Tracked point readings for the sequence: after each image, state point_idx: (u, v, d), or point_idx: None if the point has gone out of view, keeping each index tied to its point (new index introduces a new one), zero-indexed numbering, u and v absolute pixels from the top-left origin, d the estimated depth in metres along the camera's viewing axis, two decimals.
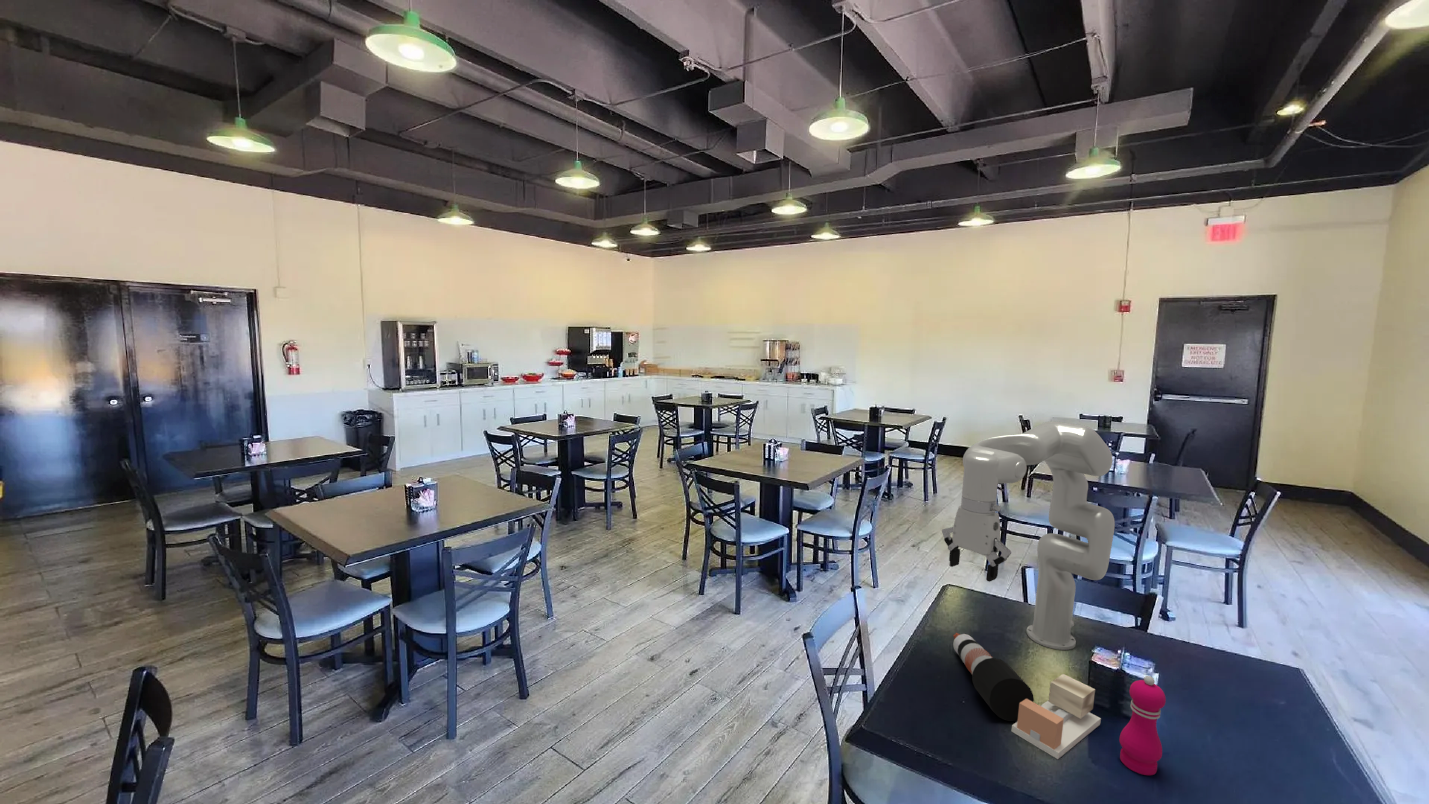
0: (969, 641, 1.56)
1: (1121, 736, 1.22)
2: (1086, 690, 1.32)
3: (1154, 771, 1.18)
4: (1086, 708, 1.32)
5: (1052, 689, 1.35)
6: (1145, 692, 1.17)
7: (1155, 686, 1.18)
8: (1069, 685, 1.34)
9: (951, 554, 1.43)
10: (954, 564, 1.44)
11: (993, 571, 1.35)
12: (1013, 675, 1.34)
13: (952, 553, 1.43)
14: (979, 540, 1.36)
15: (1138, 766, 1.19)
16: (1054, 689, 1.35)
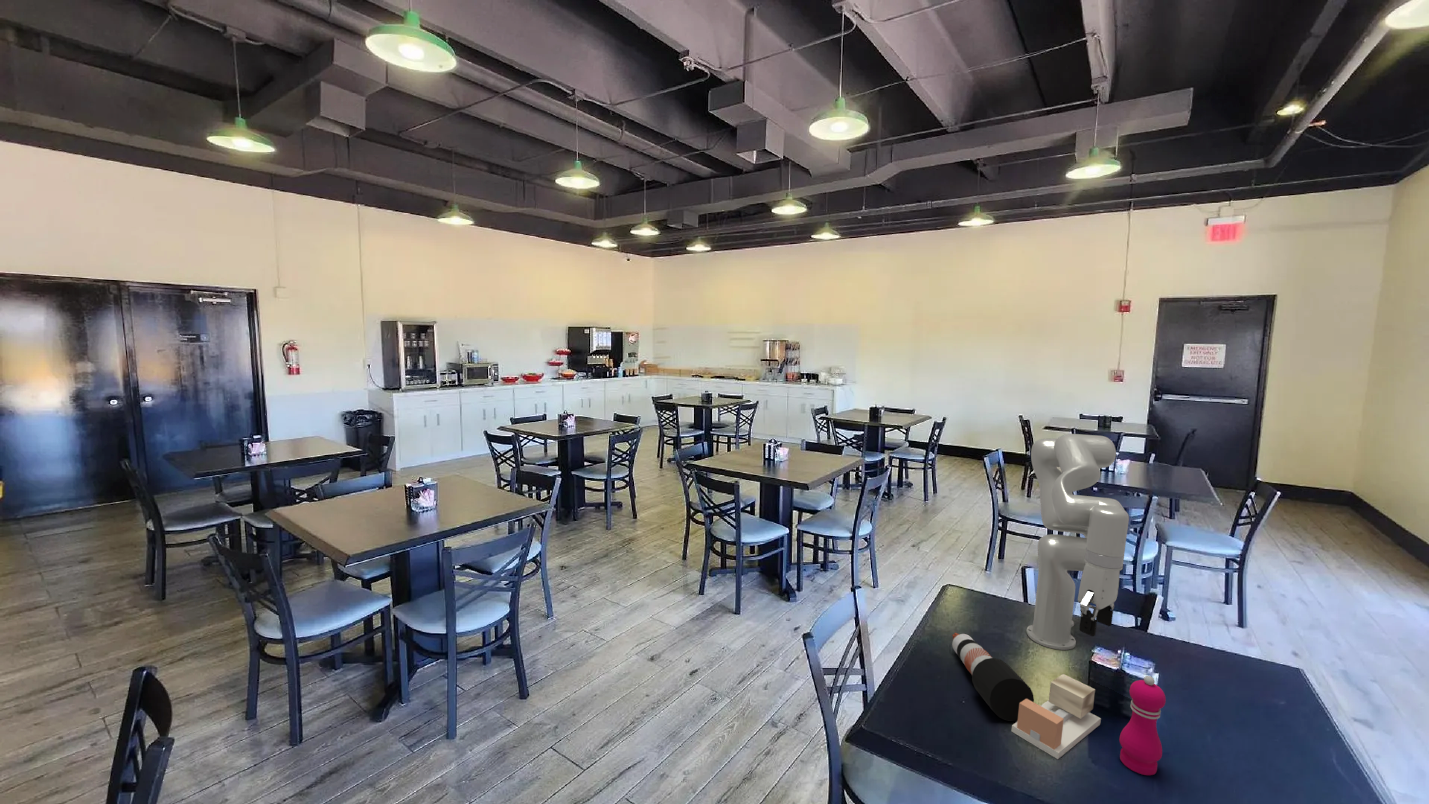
0: (968, 641, 1.56)
1: (1121, 736, 1.22)
2: (1086, 690, 1.32)
3: (1154, 771, 1.18)
4: (1086, 708, 1.32)
5: (1052, 689, 1.35)
6: (1145, 692, 1.17)
7: (1155, 686, 1.18)
8: (1069, 685, 1.34)
9: (1096, 623, 1.34)
10: None
11: None
12: (1013, 675, 1.34)
13: None
14: (1115, 590, 1.36)
15: (1138, 766, 1.19)
16: (1054, 689, 1.35)
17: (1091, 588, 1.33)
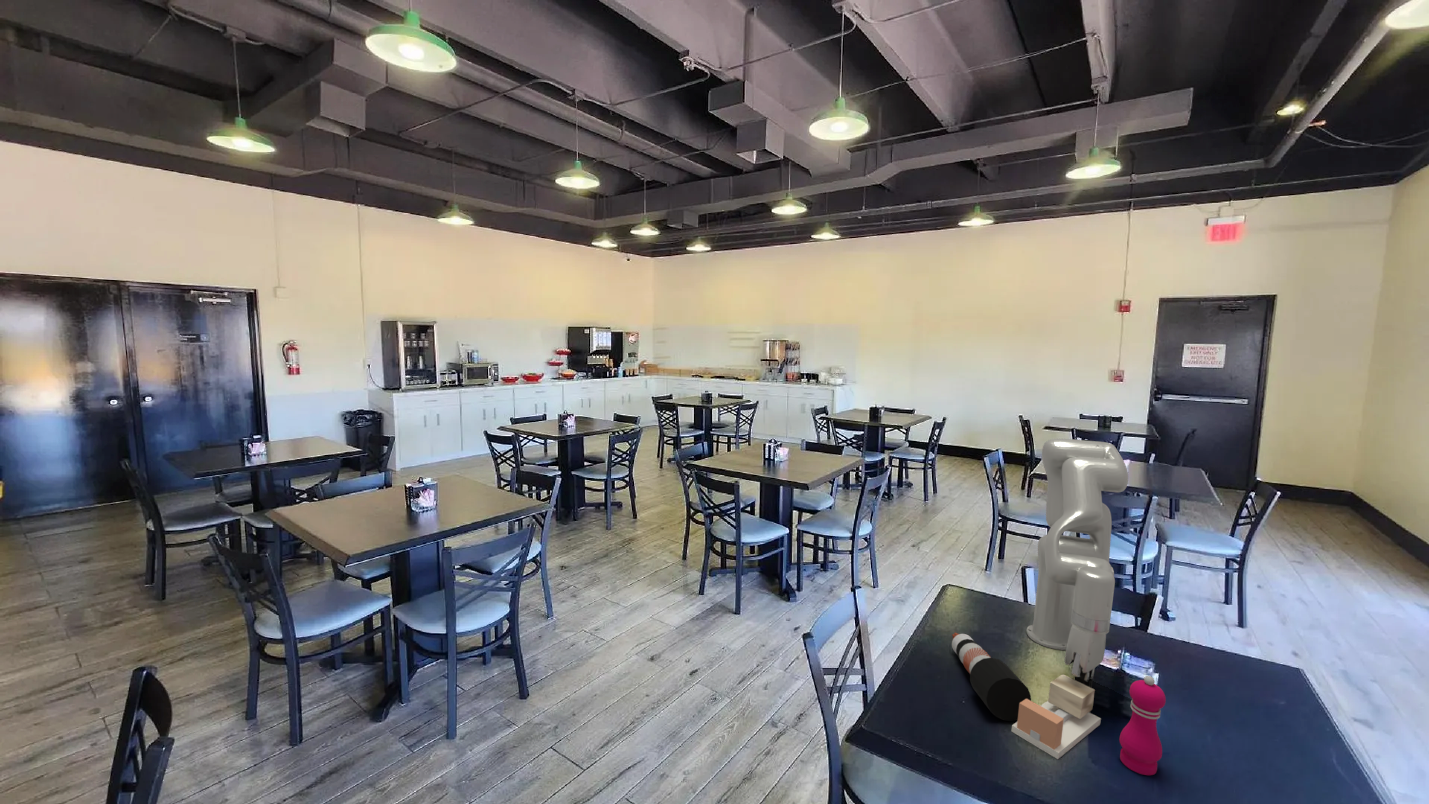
0: (967, 641, 1.56)
1: (1121, 736, 1.22)
2: (1085, 691, 1.32)
3: (1154, 771, 1.18)
4: (1086, 708, 1.32)
5: (1052, 689, 1.35)
6: (1145, 692, 1.17)
7: (1155, 686, 1.18)
8: (1069, 685, 1.34)
9: (1089, 684, 1.36)
10: None
11: None
12: (1010, 675, 1.34)
13: (1089, 682, 1.36)
14: (1102, 652, 1.36)
15: (1138, 766, 1.19)
16: (1053, 689, 1.35)
17: (1077, 651, 1.33)
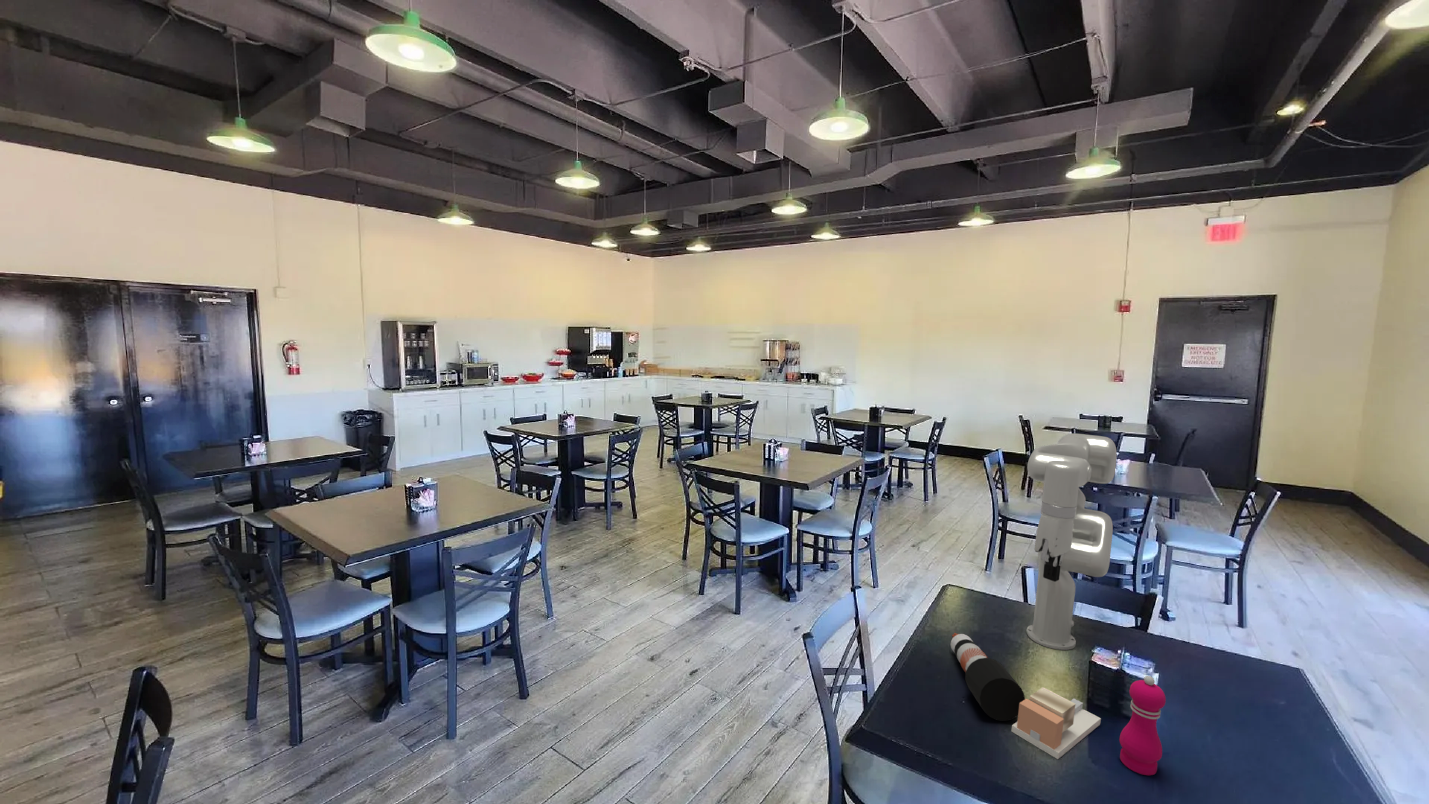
0: (966, 641, 1.56)
1: (1121, 736, 1.22)
2: (1066, 705, 1.27)
3: (1154, 771, 1.18)
4: (1066, 723, 1.26)
5: None
6: (1145, 692, 1.17)
7: (1155, 686, 1.18)
8: (1049, 699, 1.29)
9: (1057, 569, 1.46)
10: None
11: None
12: (1004, 675, 1.34)
13: (1057, 568, 1.46)
14: (1069, 540, 1.46)
15: (1138, 766, 1.19)
16: None
17: (1046, 537, 1.43)
